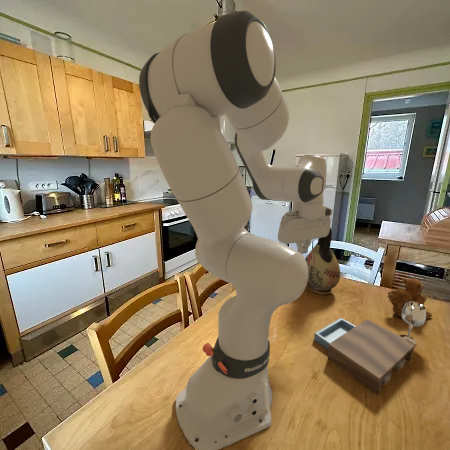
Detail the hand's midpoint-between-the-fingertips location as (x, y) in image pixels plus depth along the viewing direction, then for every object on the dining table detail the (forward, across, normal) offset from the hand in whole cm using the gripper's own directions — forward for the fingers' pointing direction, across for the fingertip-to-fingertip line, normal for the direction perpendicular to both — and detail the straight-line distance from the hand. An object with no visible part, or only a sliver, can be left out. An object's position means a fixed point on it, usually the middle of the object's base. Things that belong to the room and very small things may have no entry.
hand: (302, 252), depth 77 cm
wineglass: (+25, +23, -25) cm, 42 cm away
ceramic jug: (+24, +25, +10) cm, 36 cm away
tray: (+25, +5, -18) cm, 31 cm away
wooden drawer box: (+25, +5, -22) cm, 34 cm away
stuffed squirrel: (+24, +38, -18) cm, 49 cm away
